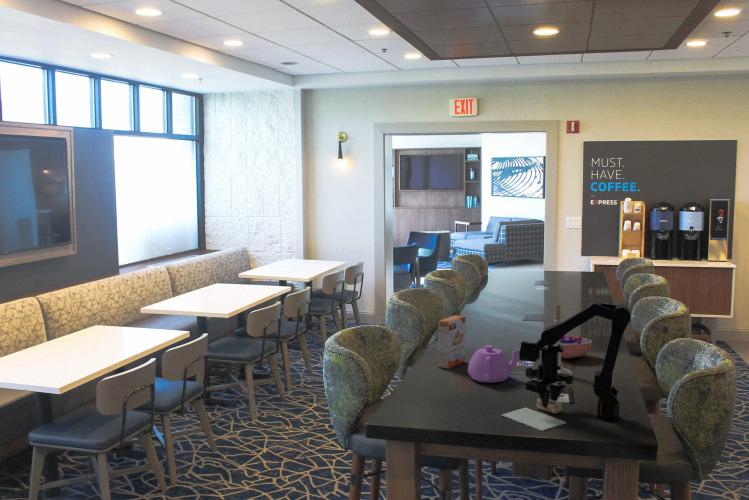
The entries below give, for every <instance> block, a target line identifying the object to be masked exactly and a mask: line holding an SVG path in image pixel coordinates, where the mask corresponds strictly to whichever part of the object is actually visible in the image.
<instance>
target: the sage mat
mask: <svg viewBox="0 0 749 500" xmlns="http://www.w3.org/2000/svg"><path fill="white" fill-rule="evenodd" d="M503 416H504V417H503ZM501 417H503V418H505V417H507V418H506V419H508V418H509V419H508V420H510V419H512V420H511V421H513V420H514V421H513V422H516V421H517V422H516V423H518V422H519V424H521V423H523V424H525V425H524V426H526V425H527V426H526V427H529V426H530V427H529V428H531V427H532V429H534V428H535V429H534V430H536V429H537V430H536V431H539V430H540V431H539V432H541V431H542V432H545V431H548V430H551V429H554V428H557V427H560V426H562V424H563V425H566V424H567V422H566V421H564V420H562V419H559V418H555V417H553V416H550V415H548V414H546V413H545V414H544V413H542V412H539V411H537V410H533V409H531V408H528V407H523V408H519V409H515V410H513V411H509V412H505V413H503V414H501ZM523 424H522V425H523ZM559 425H560V426H559ZM556 426H557V427H556ZM553 427H554V428H553ZM550 428H551V429H550ZM547 429H548V430H547ZM544 430H545V431H544Z"/></svg>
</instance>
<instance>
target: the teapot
mask: <svg viewBox="0 0 749 500" xmlns="http://www.w3.org/2000/svg"><path fill="white" fill-rule="evenodd" d="M519 352H520V347H519V348H516V349H514V350H513V352H512V355H511V356H512V357H511V360H510V361H508V359H507V357H506V356H505V354H504V352H503V351H502V350H501V349H499V348H495V347H494V346H493V345H490V344H488V345H484V348H483V347H481V348H479V349H477V350H476V351H475V352H474V354H473V355H472V357H471V358H470V360H469V363H468V365H467V367H468V368H467V373H468V375H469V376H470V378H471V379H472V380H474V381H476V382H479V383H486V384H487V383H490V384H491V383H492V384H493V383H496V382H498V383H501V382H505V381H506V380H507V379H508V378H509V377H510V375H511V372H513V371H514V370H515V368H516V366H517V362H518V361H517V357H518V355H519ZM496 384H497V383H496Z"/></svg>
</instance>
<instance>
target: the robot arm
mask: <svg viewBox="0 0 749 500" xmlns="http://www.w3.org/2000/svg"><path fill="white" fill-rule="evenodd" d="M596 316H597V317H600V318H604V319H607V320H610V321H611V334H610V336H609V342H608V345H607V348H606V353H605V357H604V360H603V364H602V368H601V370H600V371H599V370H596V371H595V374H594V380H593V381H592V384H591V387H592V388H593V393H594V394H595V396H597V397H598V402H597V407H596V408H597V409H596V415H595V416H594V417H595V418H597V419H600V420H603V421H605V422H610V423H613V422H615V421H618V420H621V419H622V418H623V416H622V415H621V416H620V404H621V403H620V401H619V400H618V399H619V393H620V391H618V389H616V387H615V386H613V385H614V384H613V383H614V369H615V365H616V361H617V357H618V355H619V354H618V353H619V350H620V346H621V342H622V338H623V335H624V333H625V331H626V329H627V327H628V326H629V323H630V321H631V317H632V310H631V308H630V306H628V305H627V304H618V305H615V304H610V303H603V302H599V301H594V302H591V304H590V305H589V306H587V307H585V308H583V309H582V310H580V311H578V312H577V313H576V314H573V315H572V316H571V317H569V318H566V319H565V320H564V321H563V320H562V321H561V323H557V324H552V325H550V326H547V327H545V328H544V330H543V331H542V332H541V335H540V338H539V339H538V340H537V341H536V342H529V341H525V340H524V341H521V343H520V347H519V348H520V351H519V352H518V356H519V357H518V358H519V361H523V362H533V363H537V361H538V360H540V359H541V360H540V362H541V364H539V365H538V366H537V367H536V368H533V367H528V368H525V373H524V374H525V376H526V378H529V380H528V381H526V382H525V390H526V391H530V392H532V393H536V394H538V396H539V399H540V398H541V401H542V404H543V407H545V408H546V407H547V404H548V401H549V396H550V393H551V400H554V401H557V400H558V398H559V396H560V394H561V393H562V391H563V389H564V388H565V387H567V386H566V385H572V384H573V383H574V380H573V379H574V378H573V376H571V375H568V374H565V373H558V370H560V369H561V367H562V365H561V366H558V352H563V351H564V348H563V347H562V346H561V345H560V344H558V345H557V346H552V345H554V344H556V343H557V342H558V341H559V340H560V339H561V338H562V337H563V336H564V335H567V334H568V333H570V332H571V331H573V330H574V329H575V328H578V327H579V326H581V325H583V324H584V323H586V322H588V321H590V320H591V319H593V318H595V317H596ZM532 379H533V380H532ZM563 382H565V384H566V385H565V384H563ZM548 386H549V387H550V389H551V391H550V390H548Z"/></svg>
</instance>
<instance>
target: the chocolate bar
mask: <svg viewBox="0 0 749 500" xmlns="http://www.w3.org/2000/svg"><path fill="white" fill-rule="evenodd" d="M548 390H550V391H551V389H550V387H549V386H548ZM572 390H573V389H572V387H571V386H566V387H565V388H564V389H563V391H562V393H561V394H560V396H559V398H558V400H557V402H560V403H562V404H574V400H573V392H572ZM549 399H551V393H550V396H549Z"/></svg>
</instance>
